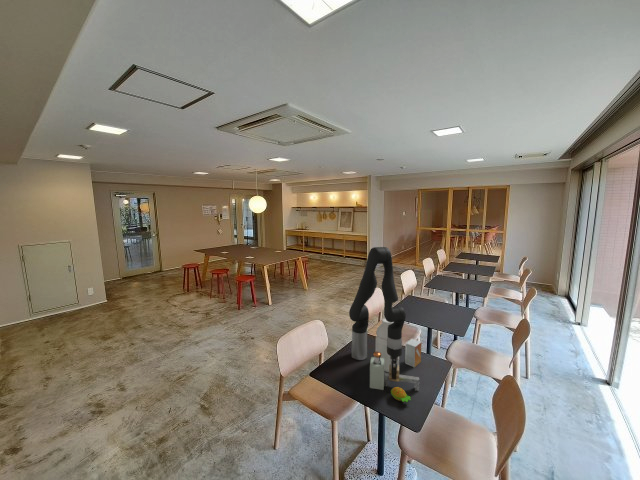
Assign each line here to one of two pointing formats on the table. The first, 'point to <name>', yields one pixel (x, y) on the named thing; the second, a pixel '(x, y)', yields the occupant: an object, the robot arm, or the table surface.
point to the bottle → (383, 343)
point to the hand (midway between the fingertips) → (393, 375)
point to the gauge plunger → (377, 357)
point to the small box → (413, 352)
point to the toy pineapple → (400, 394)
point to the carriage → (391, 374)
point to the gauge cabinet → (377, 374)
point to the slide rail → (404, 380)
